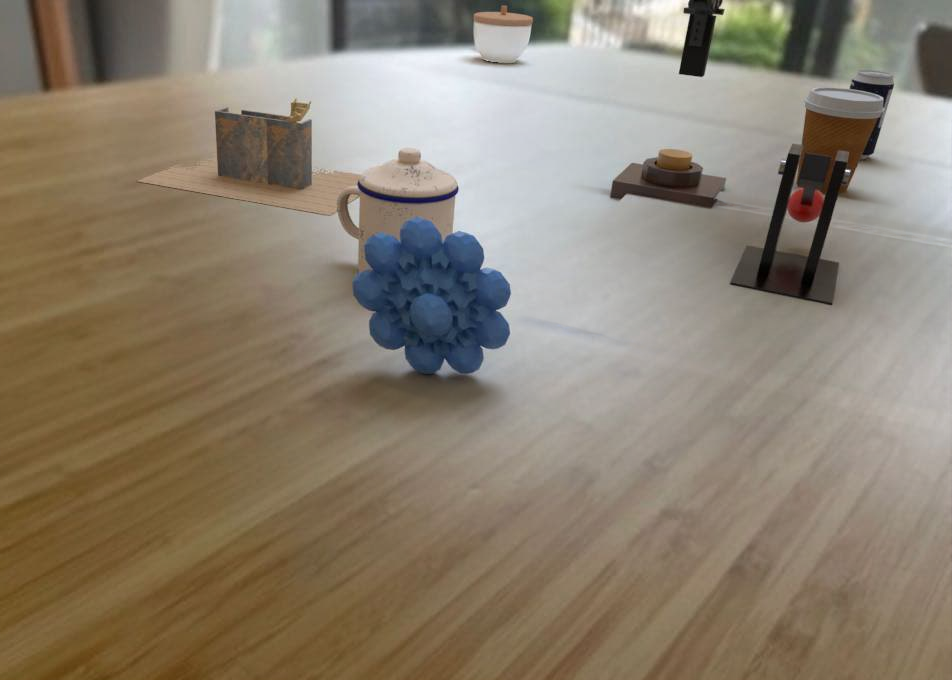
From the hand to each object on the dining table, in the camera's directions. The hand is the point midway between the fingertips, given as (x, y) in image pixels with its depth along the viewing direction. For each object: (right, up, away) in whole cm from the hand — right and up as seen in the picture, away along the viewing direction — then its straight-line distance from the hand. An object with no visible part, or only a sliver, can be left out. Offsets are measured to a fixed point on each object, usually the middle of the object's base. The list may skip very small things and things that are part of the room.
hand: (691, 74), depth 106 cm
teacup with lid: (-35, -26, -20) cm, 47 cm away
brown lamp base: (-1, -13, +7) cm, 15 cm away
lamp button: (-1, -10, +5) cm, 11 cm away
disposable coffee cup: (+22, -10, +15) cm, 28 cm away
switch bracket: (+4, -26, -17) cm, 32 cm away
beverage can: (+34, -2, +31) cm, 46 cm away
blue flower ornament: (-32, -36, -38) cm, 61 cm away
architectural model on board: (-50, -12, +4) cm, 52 cm away
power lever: (+6, -19, -17) cm, 26 cm away
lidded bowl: (-14, +35, +91) cm, 98 cm away
